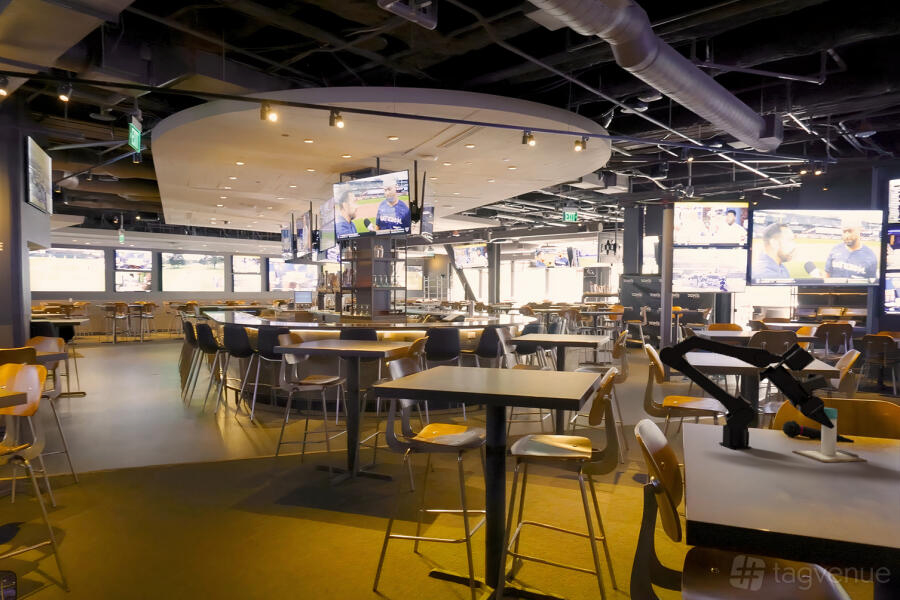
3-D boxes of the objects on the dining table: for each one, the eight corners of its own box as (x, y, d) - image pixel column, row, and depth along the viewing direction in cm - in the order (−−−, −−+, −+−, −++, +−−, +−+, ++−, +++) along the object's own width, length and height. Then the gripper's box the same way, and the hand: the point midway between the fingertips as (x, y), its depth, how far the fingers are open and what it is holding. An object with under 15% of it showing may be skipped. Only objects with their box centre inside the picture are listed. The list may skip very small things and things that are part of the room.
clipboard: (823, 462, 155) (823, 458, 155) (792, 452, 166) (792, 448, 166) (866, 461, 158) (866, 457, 158) (833, 451, 169) (833, 447, 169)
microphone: (849, 451, 183) (780, 436, 190) (850, 433, 185) (781, 419, 191) (856, 449, 178) (784, 435, 185) (857, 431, 180) (785, 417, 186)
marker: (833, 457, 159) (834, 410, 159) (818, 454, 162) (819, 408, 162) (838, 455, 162) (839, 409, 162) (823, 452, 165) (824, 407, 165)
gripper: (816, 367, 156) (863, 412, 151) (802, 362, 173) (844, 401, 169) (782, 393, 158) (827, 438, 154) (772, 385, 176) (812, 425, 171)
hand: (828, 424), depth 162 cm, fingers open, 9 cm apart
